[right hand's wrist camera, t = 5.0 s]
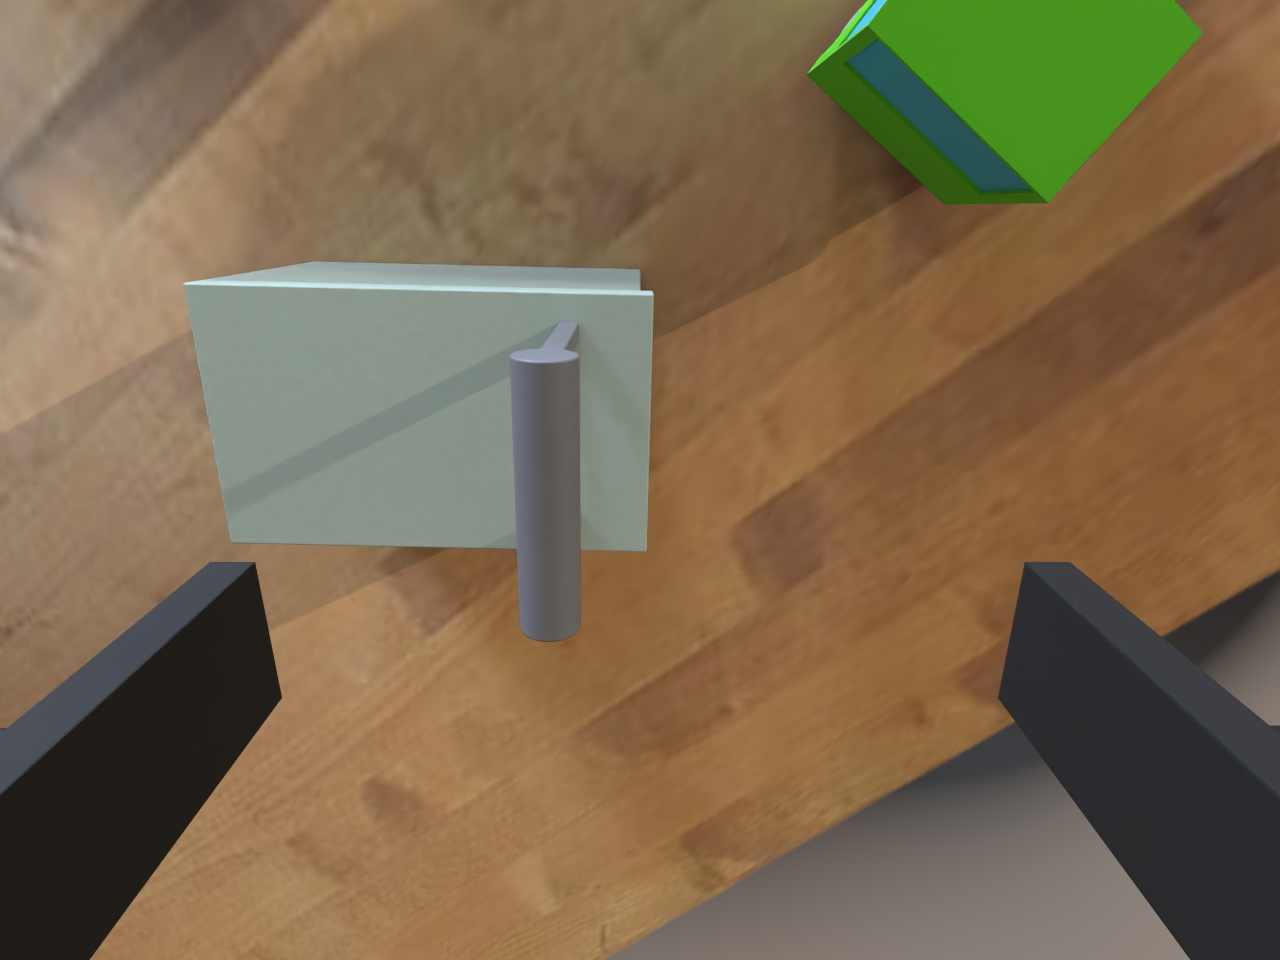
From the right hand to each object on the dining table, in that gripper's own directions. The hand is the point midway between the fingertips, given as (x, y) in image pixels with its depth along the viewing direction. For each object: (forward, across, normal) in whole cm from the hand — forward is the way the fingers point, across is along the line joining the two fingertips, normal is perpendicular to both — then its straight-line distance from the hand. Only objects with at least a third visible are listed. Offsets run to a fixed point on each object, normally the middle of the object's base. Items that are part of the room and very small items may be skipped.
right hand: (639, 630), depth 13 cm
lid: (+15, -7, 0) cm, 17 cm away
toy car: (+25, +14, +15) cm, 32 cm away
